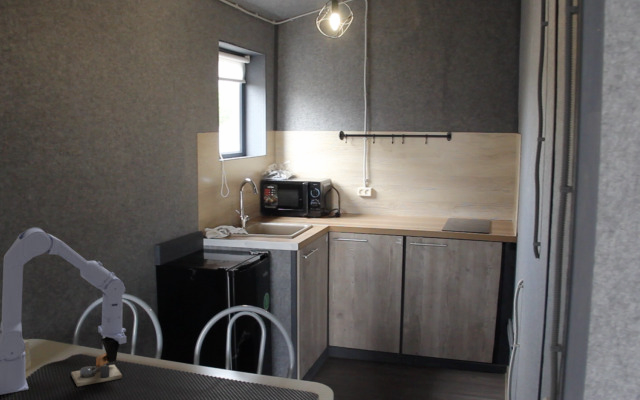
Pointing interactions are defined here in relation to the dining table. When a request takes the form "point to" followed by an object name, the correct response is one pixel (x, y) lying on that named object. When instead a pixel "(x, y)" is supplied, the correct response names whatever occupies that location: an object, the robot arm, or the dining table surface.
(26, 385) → the robot arm
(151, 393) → the dining table surface
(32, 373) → the dining table surface
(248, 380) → the dining table surface
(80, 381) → the board
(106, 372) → the post
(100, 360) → the crank
